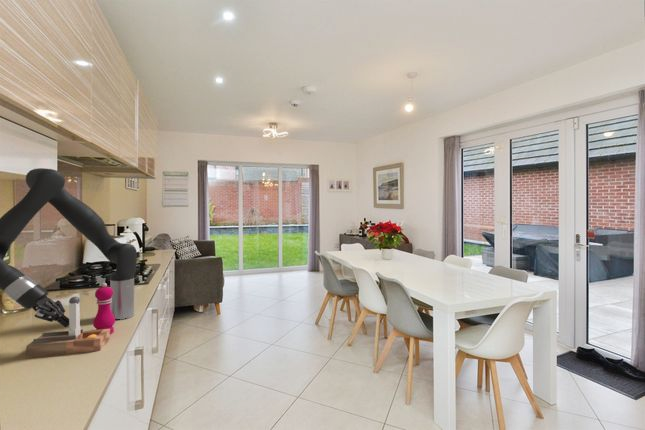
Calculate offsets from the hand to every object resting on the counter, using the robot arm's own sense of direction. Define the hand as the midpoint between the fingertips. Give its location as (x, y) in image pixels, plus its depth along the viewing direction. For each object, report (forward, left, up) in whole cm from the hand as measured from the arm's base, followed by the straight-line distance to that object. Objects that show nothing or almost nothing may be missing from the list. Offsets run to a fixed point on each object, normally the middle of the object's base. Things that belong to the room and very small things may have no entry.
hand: (69, 324), depth 114 cm
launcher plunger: (0, +2, -4) cm, 5 cm away
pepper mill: (-12, +7, -8) cm, 16 cm away
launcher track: (0, 0, -8) cm, 8 cm away
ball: (0, +7, -6) cm, 9 cm away
